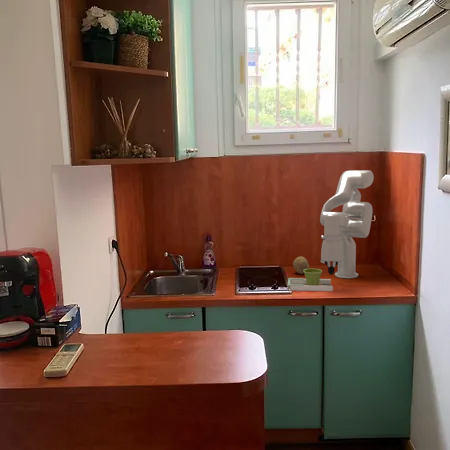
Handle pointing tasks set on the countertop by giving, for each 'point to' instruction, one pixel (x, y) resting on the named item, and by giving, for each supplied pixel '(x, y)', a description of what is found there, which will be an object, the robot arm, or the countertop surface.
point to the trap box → (298, 285)
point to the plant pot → (312, 276)
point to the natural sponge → (300, 264)
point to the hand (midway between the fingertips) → (331, 274)
